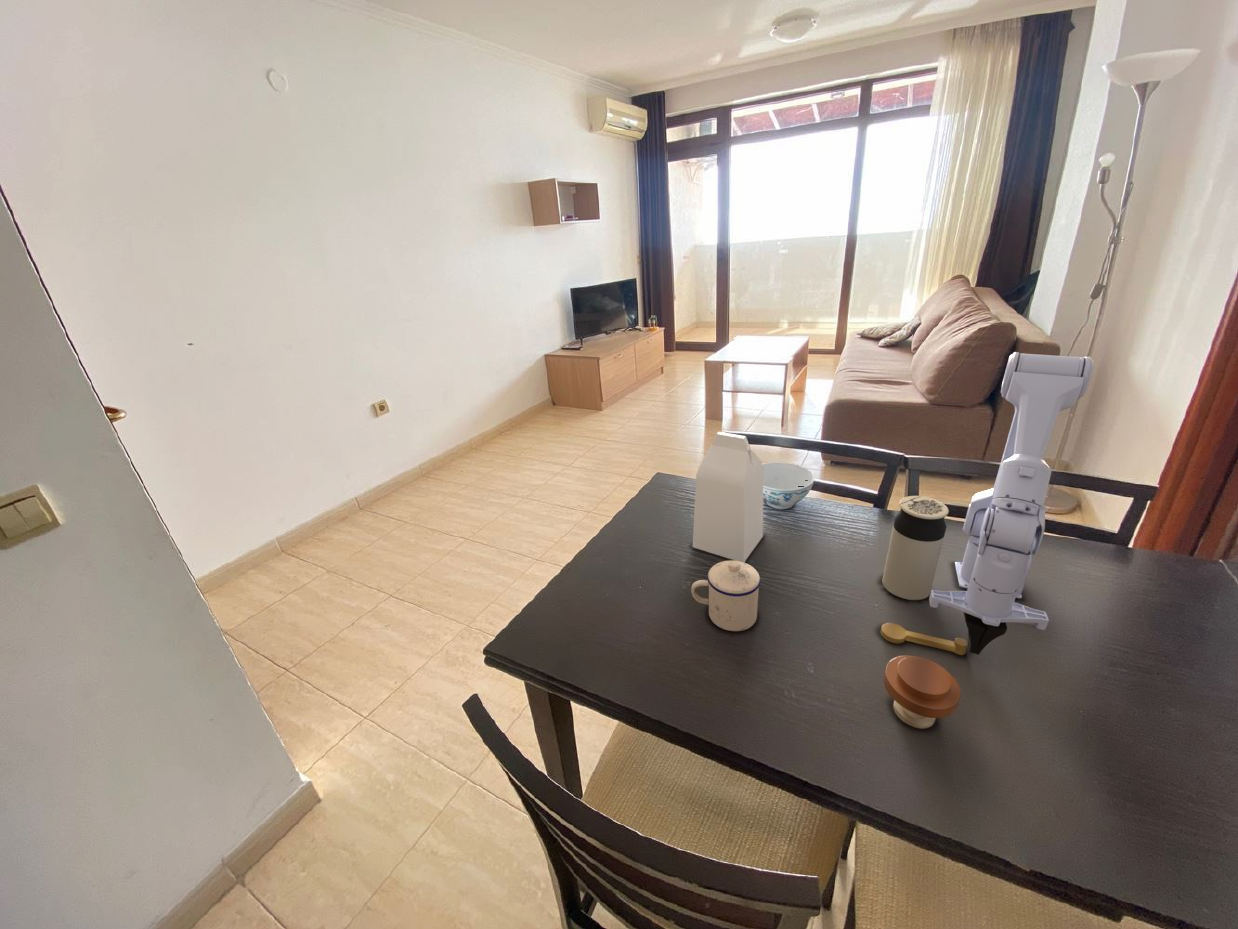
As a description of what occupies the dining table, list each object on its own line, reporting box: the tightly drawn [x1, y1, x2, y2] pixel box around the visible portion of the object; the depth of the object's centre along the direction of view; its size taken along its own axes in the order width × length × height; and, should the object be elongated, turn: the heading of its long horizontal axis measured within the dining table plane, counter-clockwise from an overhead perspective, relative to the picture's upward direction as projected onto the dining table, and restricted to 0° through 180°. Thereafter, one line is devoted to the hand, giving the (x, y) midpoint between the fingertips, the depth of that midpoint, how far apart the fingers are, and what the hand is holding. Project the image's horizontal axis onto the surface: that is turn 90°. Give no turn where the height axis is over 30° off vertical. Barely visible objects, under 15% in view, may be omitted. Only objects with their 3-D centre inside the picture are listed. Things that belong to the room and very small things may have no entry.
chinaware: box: [762, 461, 815, 510], centre depth 124 cm, size 15×15×8 cm
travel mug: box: [881, 495, 950, 601], centre depth 91 cm, size 8×8×18 cm
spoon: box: [880, 622, 968, 656], centre depth 82 cm, size 12×4×2 cm, turn 65°
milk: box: [692, 431, 764, 563], centre depth 107 cm, size 12×12×26 cm
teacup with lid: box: [690, 559, 761, 632], centre depth 89 cm, size 12×9×12 cm
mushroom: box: [883, 654, 962, 729], centre depth 70 cm, size 9×9×8 cm
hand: (973, 649), depth 79 cm, fingers closed
